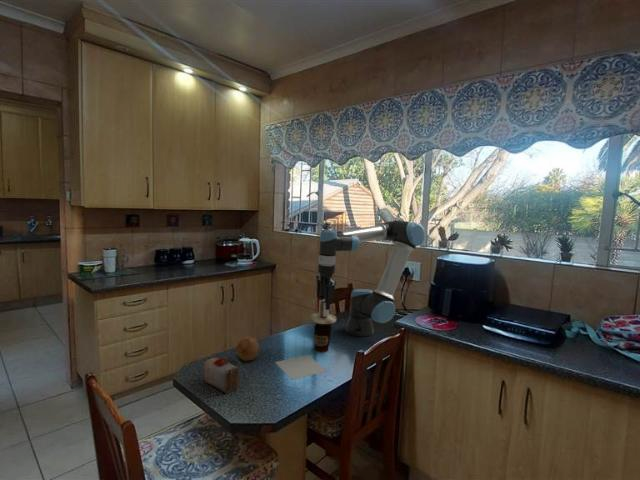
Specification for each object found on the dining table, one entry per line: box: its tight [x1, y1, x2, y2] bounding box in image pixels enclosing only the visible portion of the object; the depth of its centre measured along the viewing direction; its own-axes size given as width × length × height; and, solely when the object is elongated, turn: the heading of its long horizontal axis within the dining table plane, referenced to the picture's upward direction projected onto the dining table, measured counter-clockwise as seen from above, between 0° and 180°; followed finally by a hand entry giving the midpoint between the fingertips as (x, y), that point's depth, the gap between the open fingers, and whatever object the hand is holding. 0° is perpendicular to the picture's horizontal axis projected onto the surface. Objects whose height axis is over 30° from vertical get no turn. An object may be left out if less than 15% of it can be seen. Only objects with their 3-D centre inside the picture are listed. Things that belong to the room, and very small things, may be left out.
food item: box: [203, 357, 240, 394], centre depth 127 cm, size 14×8×10 cm, turn 55°
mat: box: [274, 355, 327, 381], centre depth 143 cm, size 16×16×1 cm
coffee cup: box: [313, 323, 333, 353], centre depth 161 cm, size 9×8×13 cm
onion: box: [236, 335, 261, 362], centre depth 148 cm, size 10×10×10 cm
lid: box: [309, 301, 337, 325], centre depth 159 cm, size 12×12×8 cm
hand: (323, 314), depth 160 cm, fingers closed on lid, 3 cm apart
